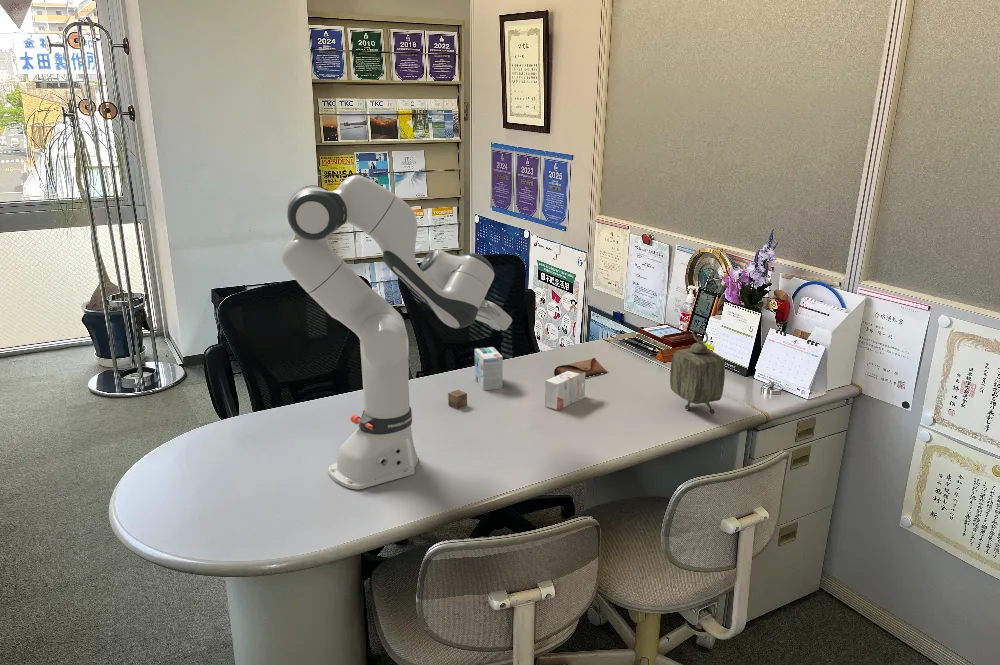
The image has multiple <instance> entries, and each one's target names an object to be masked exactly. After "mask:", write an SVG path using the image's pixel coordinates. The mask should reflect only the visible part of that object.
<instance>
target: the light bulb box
mask: <svg viewBox="0 0 1000 665" xmlns="http://www.w3.org/2000/svg"><path fill="white" fill-rule="evenodd" d="M503 358H504V357H503V355H502V354H501V353H500V352H499V351H498V350H497V349H496V348H495V347H494V346H490V347H483V348H482V347H481V348H474V380H475V382H476V383H477V384H478V386H479V387H480V388H481V389H482V391H489V390H497V389H498V390H499V389H500V390H501V389H503V371H504V370H503V364H504V363H503V360H504V359H503Z"/></svg>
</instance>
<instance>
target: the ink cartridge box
mask: <svg viewBox="0 0 1000 665" xmlns="http://www.w3.org/2000/svg"><path fill="white" fill-rule="evenodd" d="M544 395H545V398H544V399H545V401H544V402H545V404H544V406H545V408H549V409H551V410H554V411H560V410H562V409H563V408H566V407H568V406H570V405H572V404H574V403H576V402H577V401H580V399H583V398H584V397H585V395H586V378H585V372H584V373H582V374H579V373H575V372H571V371H566V372H564V373H562V374H560V375H557V376H555V375H554V377H550V378H549V379H546V380H545V394H544Z"/></svg>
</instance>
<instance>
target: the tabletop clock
mask: <svg viewBox="0 0 1000 665" xmlns="http://www.w3.org/2000/svg"><path fill="white" fill-rule="evenodd" d="M697 330H698V331H701V332H702V333H703V334H704V335H705V338H706V340H702V339H703V338H702V337H700V336H699V337H697V336H696V335H695V331H697ZM692 337H693V339H694V340H695V341H696V342H695V343H693V344H692V345H691V346H690V348H684V349H678V350H676V351H675V352H674V353H673V355H672V358H671V363H670V377H669V378H670V379H669V386H670V389H671V392H673V393H674V394H676V395H677V396H679V397H680V398H682V399H683V400H686V401H687V404H686V405H685V406H684V409H685V410H686V409H690V410H691V408H692V407H691V406H690V405H691V403H693V404H694V405H700V404H705V405H706V406H707V408H708V409H709V411H708V412H709V414H710V413H711V414H710V415H715V412H716V410H715V408H712V407H711V405H710V403H711V402H716V401H717V402H718V401H720V400H721V399H722V396H723V393H724V386H725V378H726V377H725V376H726V375H725V374H726V363H725V360H724V359H723V357H722V356H721V355H719V354H718V353H716V352H715V351H713V350H711V349H709V348H708V346H707V345H706V343H708V341H709V336H708V333H707V331H706V330H705V329H703V328H701V327H695V328H693V330H692Z"/></svg>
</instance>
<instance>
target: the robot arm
mask: <svg viewBox="0 0 1000 665" xmlns="http://www.w3.org/2000/svg"><path fill="white" fill-rule="evenodd" d="M287 221H288V224H289V226H290V228H291V230H292V231H293V232H294V234H293V237H292V238H291V239H290V240H289V241H288V242H287V243H286V245H285V247H284V248H283V251H282V253H281V254H282V255H281V259H282V262H283V264H284V266H285V267H286V269H287V270H288V272H289V273H290V274H291V275H292V277H293V278H294V280H295V281H296V282H297V283H298V284H299V286H300V287H301V288H302V289H303V290H304V291H305V292H306V293H307V294H308V295H309V296H310V298H312V299H313V300H315V302H316V303H317V304H318V305H319V306H320V307H321V308H323V310H324V311H325V312H327V314H328V315H329V316H330V317H331V318H333V319H335V320H337V321H339V323H341V324H343V325H344V326H346V327H347V328H348V329H350V330H351V331H352V332H353V333H354V334H355V335H356V336H357V337H358V338H359V344H360V345H359V347H360V348H359V349H360V359H361V360H360V361H361V375H362V376H361V377H362V388H363V389H362V392H363V408H364V409H363V410H362V414H361V416H358V415H357V414H352V415H351V416H350V422H351V423H354V424H355V425H358V427H357V428H356V430H354V432H353V433H352V434H351V435H350V436H349V437H348V438H347V439H346V440H345V441H344V442H343V444H342V445H340V447H339V448H338V450H337V451H338V452H337V457H336V462H335V463H333V464H331V465H329V466H328V476H329V477H330V478H331V479H332V480H333V481H334V482H336V483H337V484H339V485H341V486H343V487H345V488H348V489H353V490H362V489H363V490H364V489H366V488H370V487H373V486H378V485H380V484H384V483H387V482H391V481H394V480H398V479H401V478H406V477H408V476H413V475H414V474H415V473H416V466H417V465H418V463H419V457H418V455H417V454H418V453H417V451H416V447H415V443H414V439H413V431H412V423H413V412H412V411H413V410H412V407H411V406H410V385H409V384H410V383H409V382H410V380H409V378H410V377H409V376H410V372H409V371H410V370H409V369H410V368H409V366H410V364H409V362H410V359H409V355H410V354H409V352H410V351H409V337H408V333H407V329H406V328H407V327H406V325H405V320H404V318H403V316H402V315H401V313H400V312H398V310H397V309H395V308H394V306H392V305H391V304H390V303H389V302H388V301H387V300H386V299H384V298H383V297H382V296H381V295H380V294H378V292H376V291H375V290H374V289H373V288H372V287H370V286H369V285H368V284H367V283H366V282H365V281H364V280H363V279H362V278H361V277H360V276H359V275H358V274H357V272H355V271H354V270H353V268H351V266H350V265H348V264H347V262H345V260H344V259H343V258H342V257H340V255H339V254H338V253H337V252H336V251H335V250H334V249H333V247H332V246H331V244H330V243H329V240H328V237H329V236H330V235H332V234H333V233H335V232H336V231H337V230H338V229H339V228H340V227H342V226H343V225H344V224H346V223H347V224H350V225H353V226H354V227H356V228H358V229H359V230H361V231H362V232H363V233H365V234H366V235H368V236H369V237H370V238H371V239H373V241H375V243H376V244H377V245H378V247H379V249H380V250H381V252H382V260H383V262H384V263H385V265H386V266H387V268H389V270H391V272H392V273H393V274H394V275H395V276H396V277H397V278H398V279H399V280H400V281H401V282H403V283H404V285H405V286H406V287H408V289H410V290H411V291H412V293H414V294H415V295H416V296H417V297H418V298H419V299H420V300H421V301H422V302H424V304H426V305H427V306H428V307H429V308H430V310H431V311H432V312H433V313H434V315H435V316H436V317H437V318H438V319H439V320H440V321H441V322H442V323H443V324H445V325H446V326H448V327H450V328H452V329H455V330H457V329H458V330H459V329H463V328H467V327H469V326H471V325H474V323H475V320H476V321H479V322H482V323H485V324H486V325H487V326H489V327H490V328H491V329H494V330H496V331H498V332H500V331H501V330H502V331H507V330H508V328H509V327H510V326H511V324H512V322H513V319H512V317H511V316H510V315H509V314H508V313H507V312H506V311H505V310H503V308H501V307H500V306H499V305H497V304H496V303H494V302H492V301H489V300H486V299H485V297H486V295H487V294H488V291H489V289H490V287H491V285H492V283H493V281H494V278H495V275H496V273H495V270H494V267H493V266H492V264H491V262H489V259H487V258H486V257H484V256H483V255H481V254H480V253H477V252H471V253H465V254H461V255H454V254H450V253H448V252H446V251H444V250H442V249H441V248H434V249H432V250H431V251H429V252H428V253H427V254H426V255H425V257H424V259H423V260H422V262H421V263H420V266H419V265H418V263H417V259H416V250H415V249H416V242H417V237H418V236H417V234H418V221H417V216H416V213H415V211H414V210H413V208H412V207H411V206H410V205H409V204H408V203H407V202H406V201H404V199H402V198H401V197H399V196H398V195H396V194H395V193H393V192H391V190H389V189H387V188H386V187H384V186H383V185H381V184H379V183H377V182H375V181H373V180H371V179H370V178H367V177H365V176H362V175H361V174H354V175H350V176H348V177H347V178H345V179H344V180H342V182H340V184H339V186H338V187H337V188H335V189H334V190H329V189H326V188H324V187H322V186H321V185H320V186H319V185H306V186H303V187H301V188H300V189H298V190H297V191H296V192H294V194H292V196H291V197H290V199H289V202H288V205H287Z"/></svg>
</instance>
